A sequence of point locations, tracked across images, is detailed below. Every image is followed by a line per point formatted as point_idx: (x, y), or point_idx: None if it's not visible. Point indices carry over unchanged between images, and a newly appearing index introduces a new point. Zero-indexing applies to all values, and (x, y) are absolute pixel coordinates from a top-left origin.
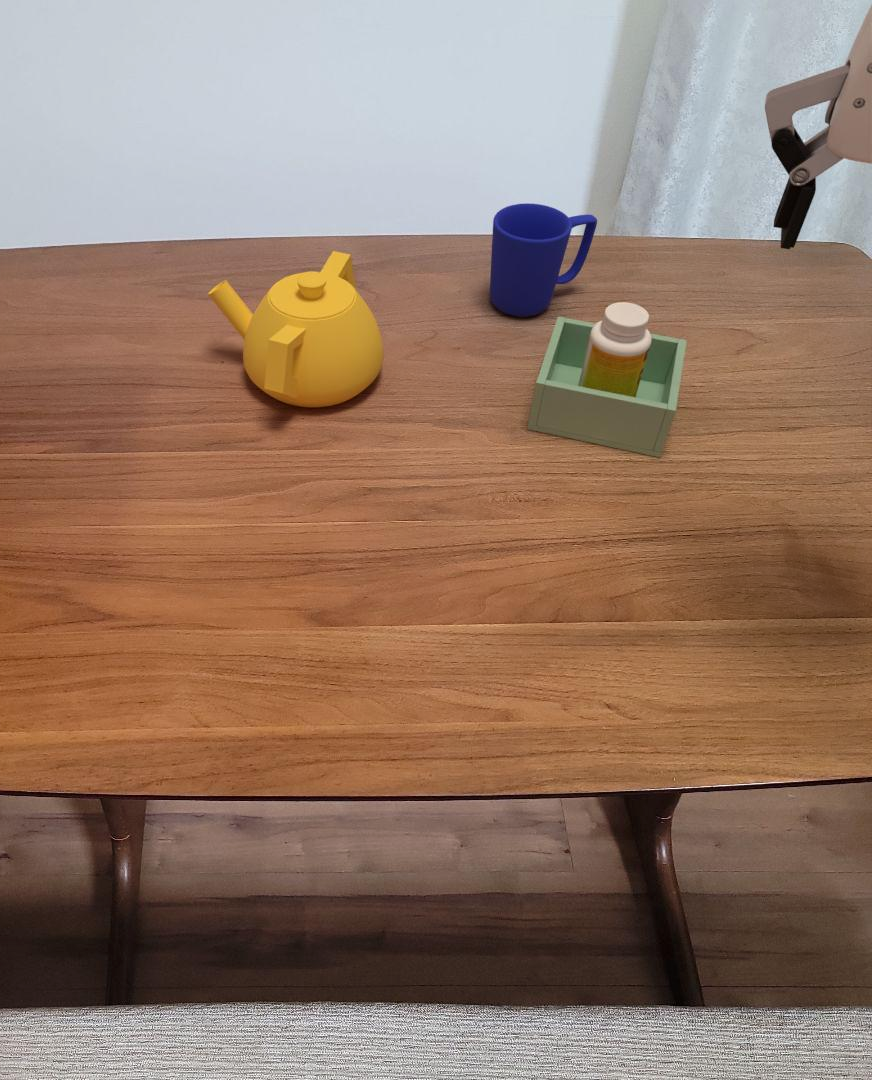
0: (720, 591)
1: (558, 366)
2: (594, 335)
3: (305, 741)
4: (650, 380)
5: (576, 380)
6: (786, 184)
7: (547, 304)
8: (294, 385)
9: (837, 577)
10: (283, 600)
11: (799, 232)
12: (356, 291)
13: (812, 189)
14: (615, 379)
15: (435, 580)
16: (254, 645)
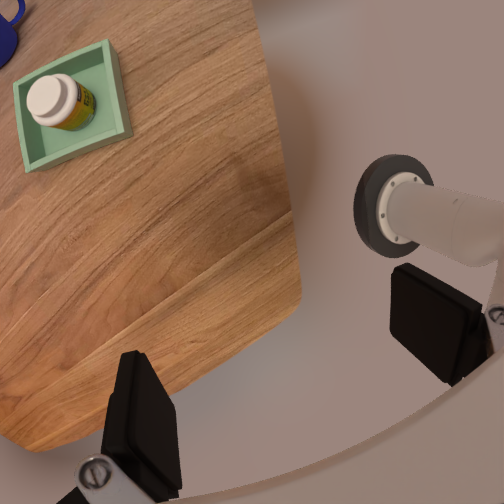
0: (213, 238)
1: None
2: (34, 118)
3: None
4: (100, 63)
5: None
6: (103, 440)
7: (14, 44)
8: None
9: (272, 184)
10: (47, 366)
11: (176, 429)
12: None
13: (177, 496)
14: (70, 124)
15: (80, 323)
16: (59, 388)
